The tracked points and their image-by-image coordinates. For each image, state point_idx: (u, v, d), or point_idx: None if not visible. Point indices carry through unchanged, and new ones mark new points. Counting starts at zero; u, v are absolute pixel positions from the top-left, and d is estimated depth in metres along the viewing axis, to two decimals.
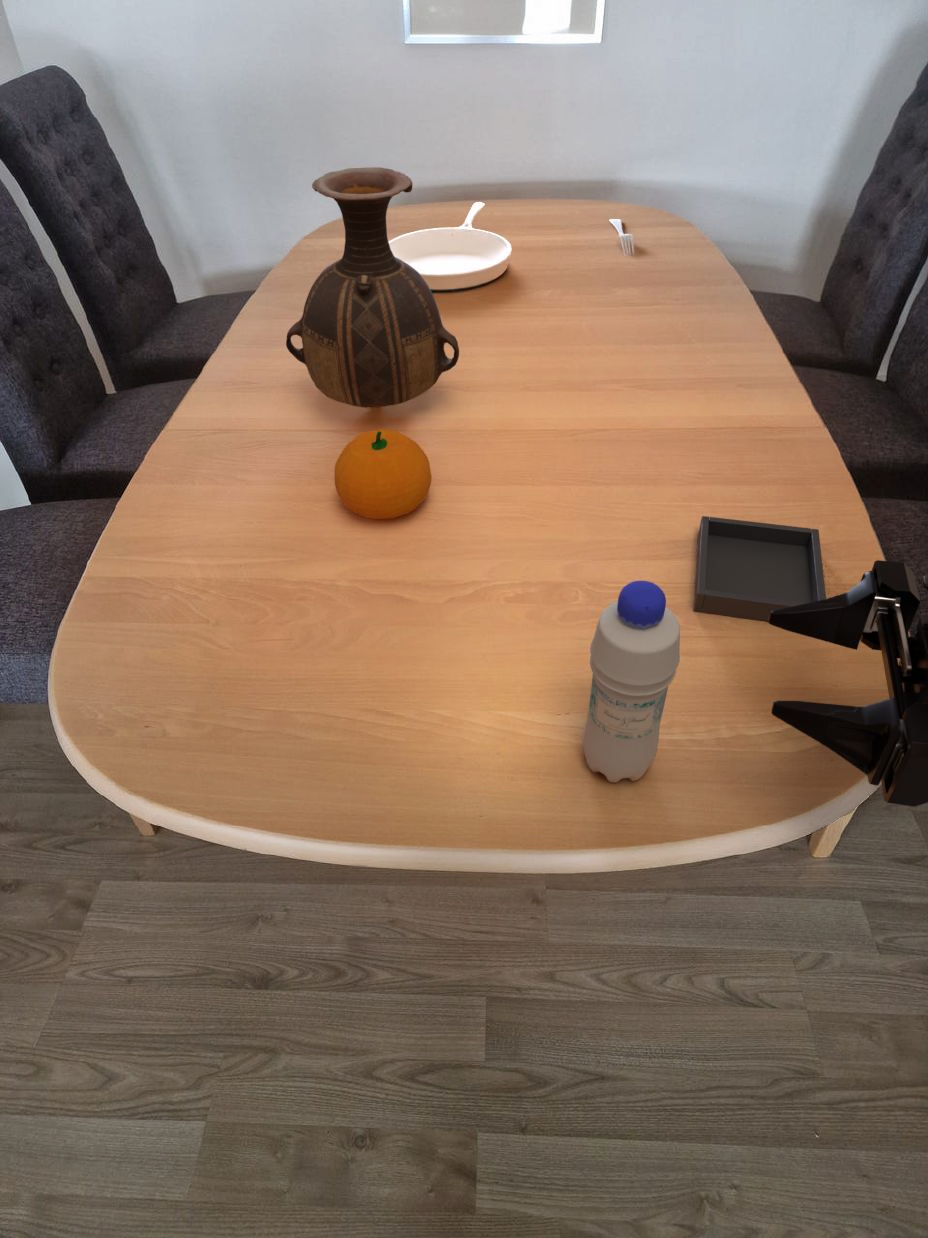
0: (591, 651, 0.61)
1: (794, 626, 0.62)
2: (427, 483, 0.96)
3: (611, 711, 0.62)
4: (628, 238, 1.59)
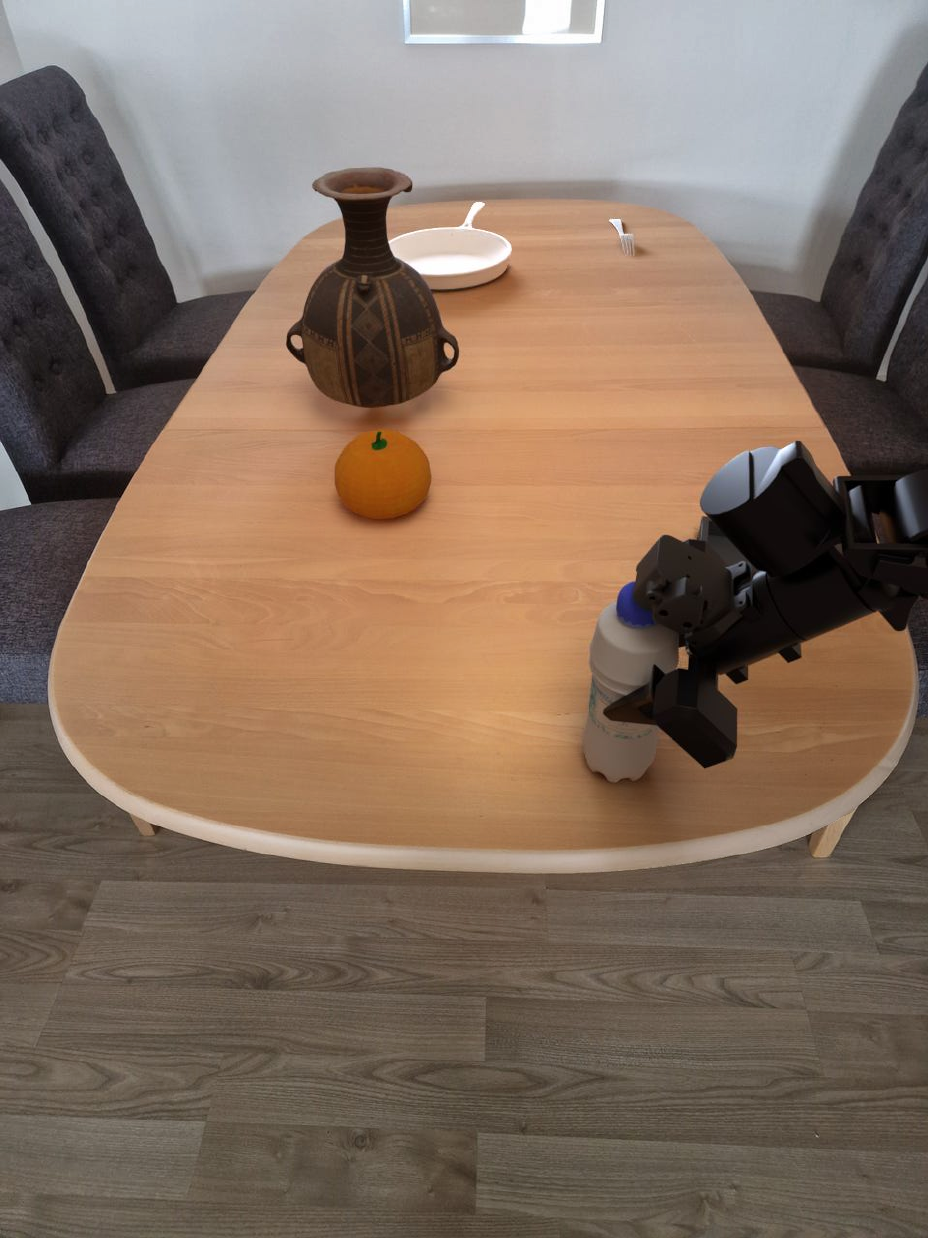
0: (590, 651, 0.61)
1: None
2: (427, 483, 0.96)
3: None
4: (628, 238, 1.59)
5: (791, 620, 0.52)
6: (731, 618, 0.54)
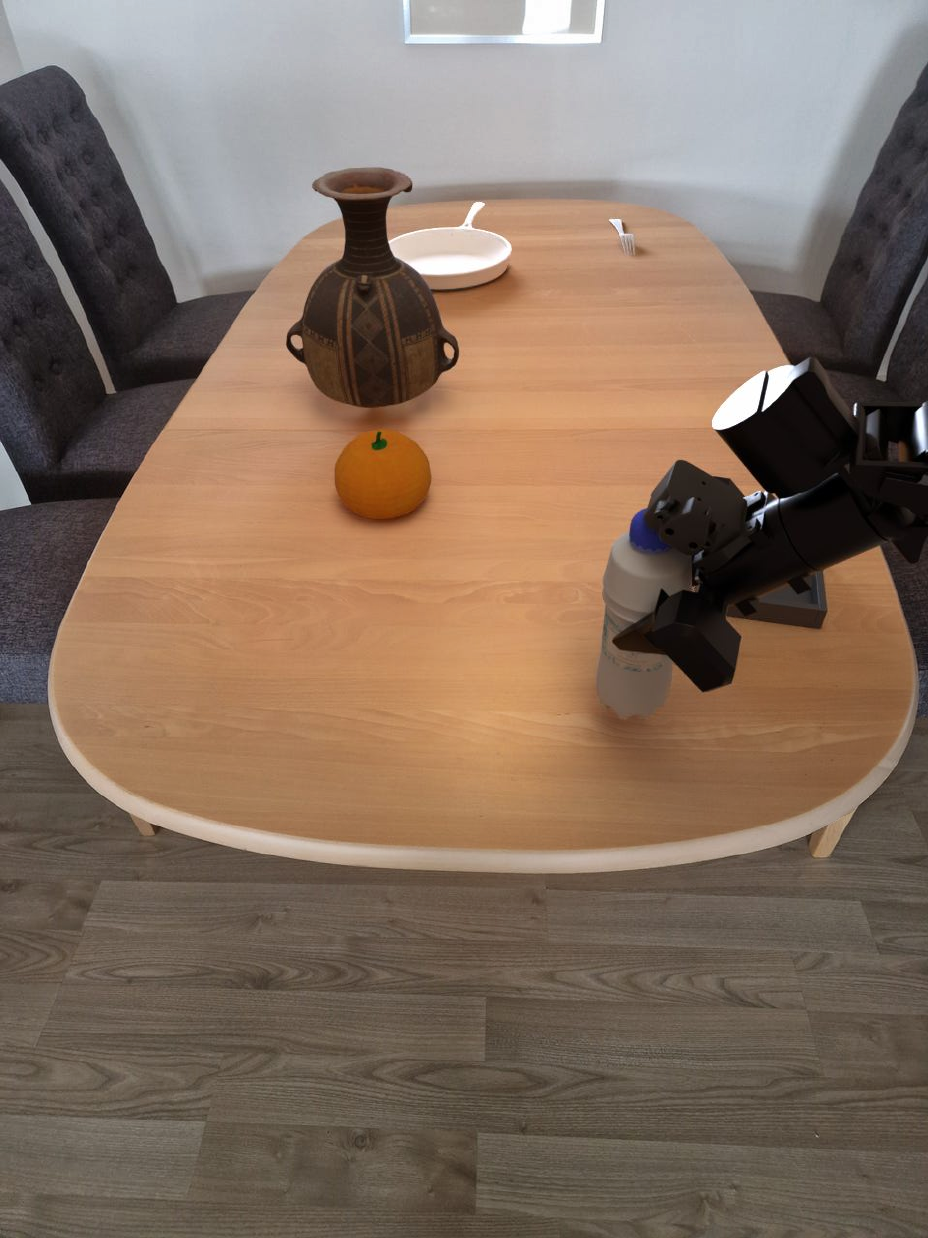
0: (603, 579, 0.62)
1: None
2: (427, 483, 0.96)
3: None
4: (629, 238, 1.59)
5: (799, 546, 0.52)
6: (740, 543, 0.53)
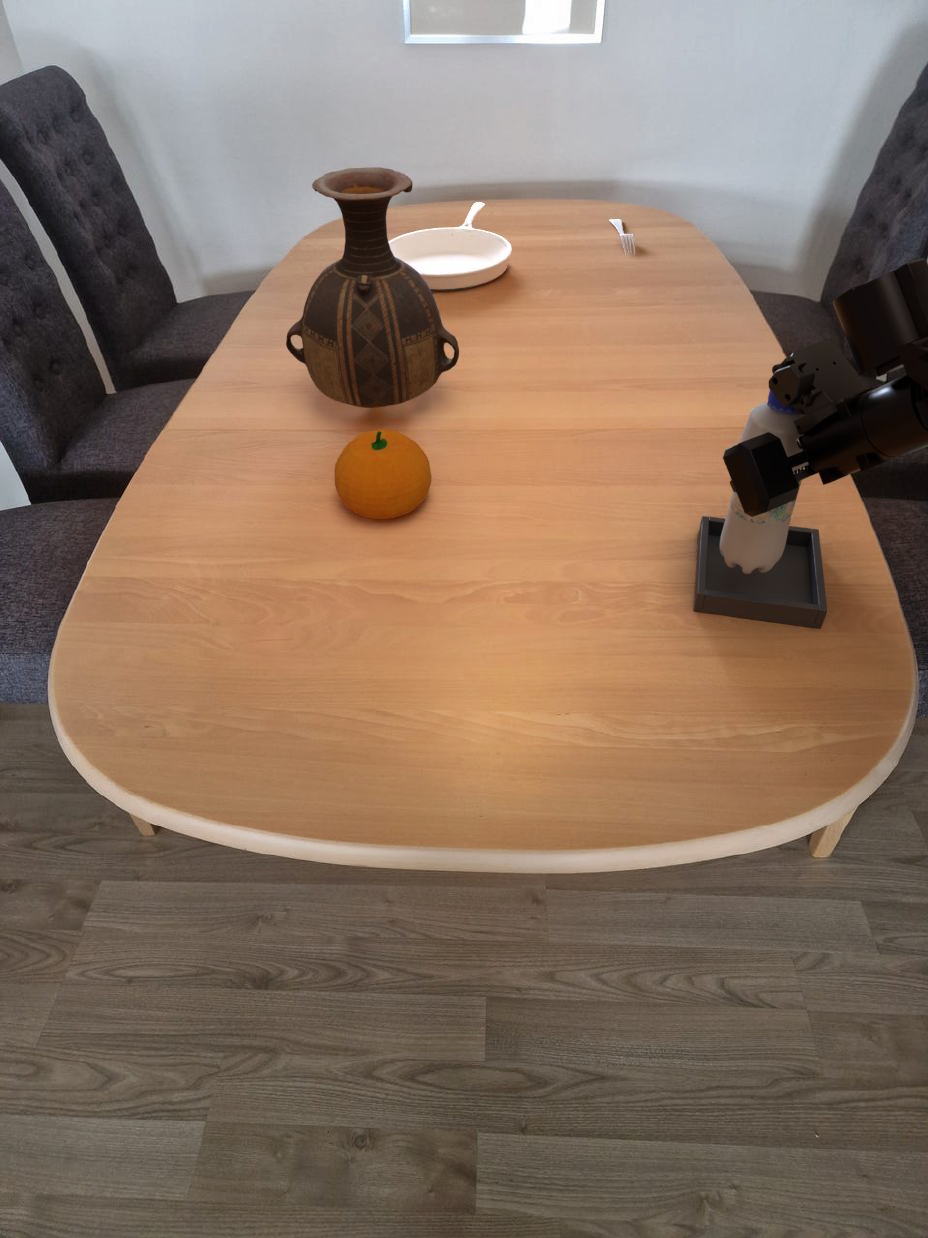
0: None
1: None
2: (427, 483, 0.96)
3: None
4: (629, 238, 1.59)
5: (865, 421, 0.62)
6: (828, 410, 0.65)
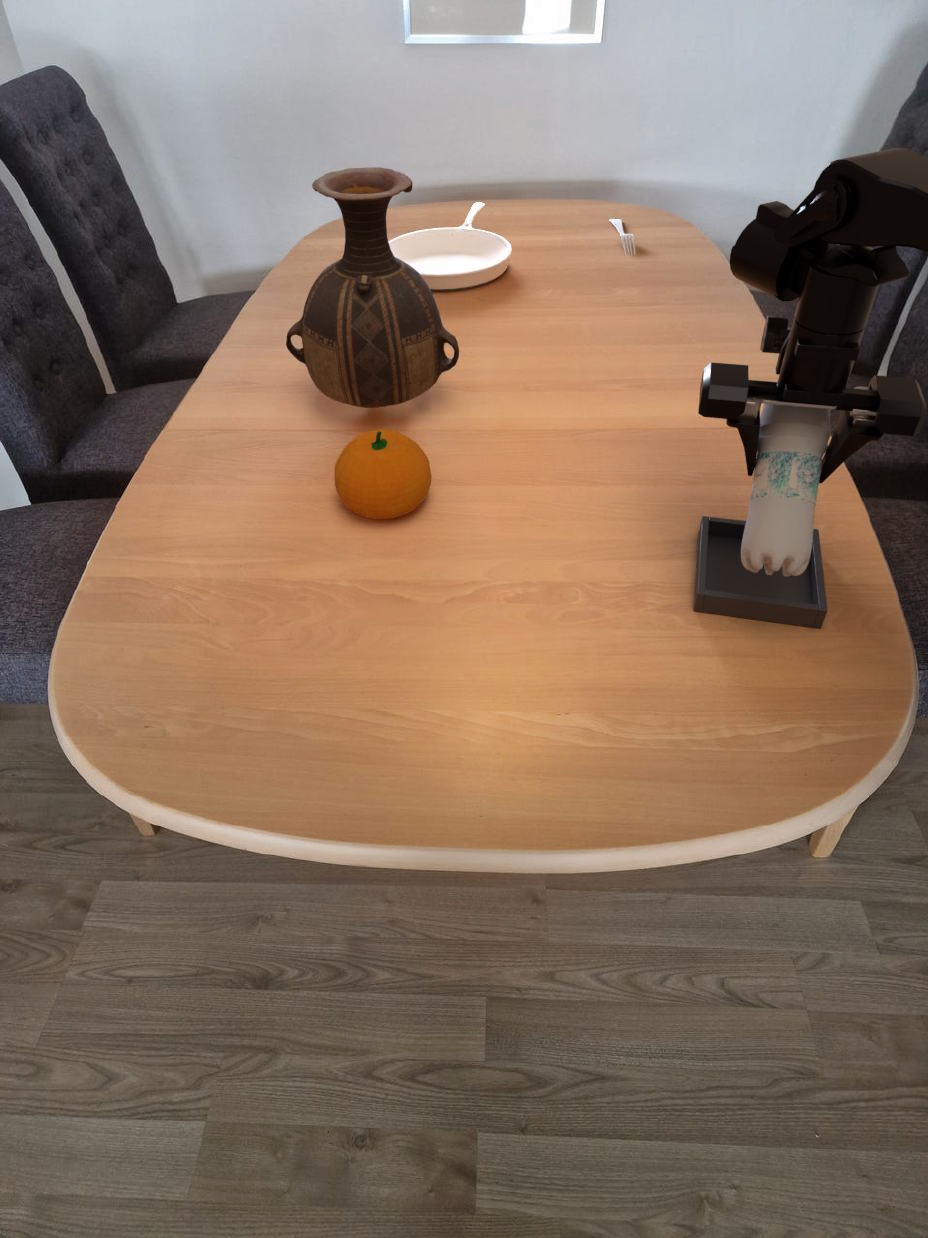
0: None
1: (823, 466, 0.76)
2: (427, 483, 0.96)
3: None
4: (629, 238, 1.59)
5: (799, 319, 0.67)
6: (789, 335, 0.72)
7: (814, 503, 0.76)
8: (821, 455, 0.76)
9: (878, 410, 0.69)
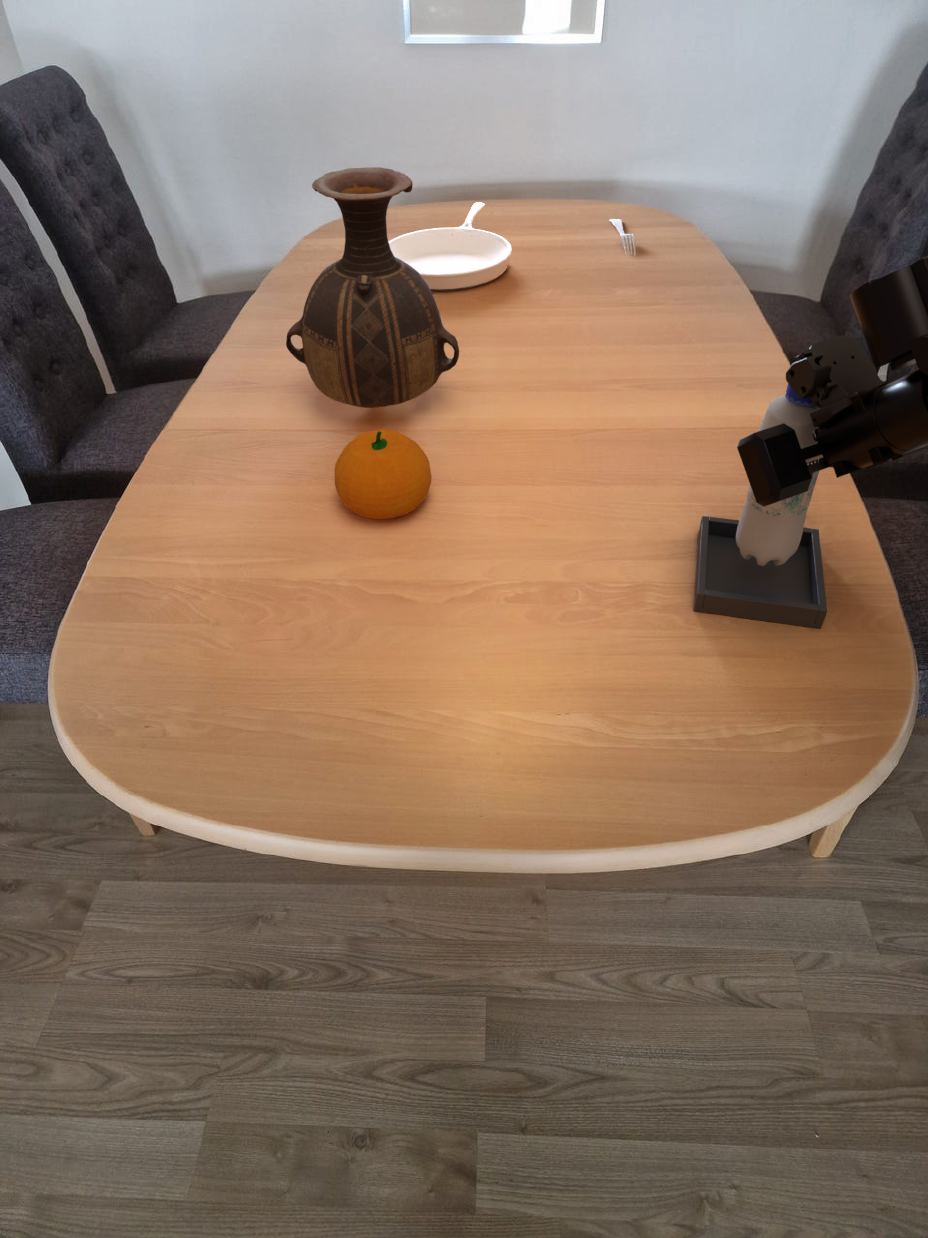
0: None
1: None
2: (427, 483, 0.96)
3: None
4: (629, 238, 1.59)
5: (878, 414, 0.63)
6: (843, 403, 0.66)
7: None
8: None
9: None
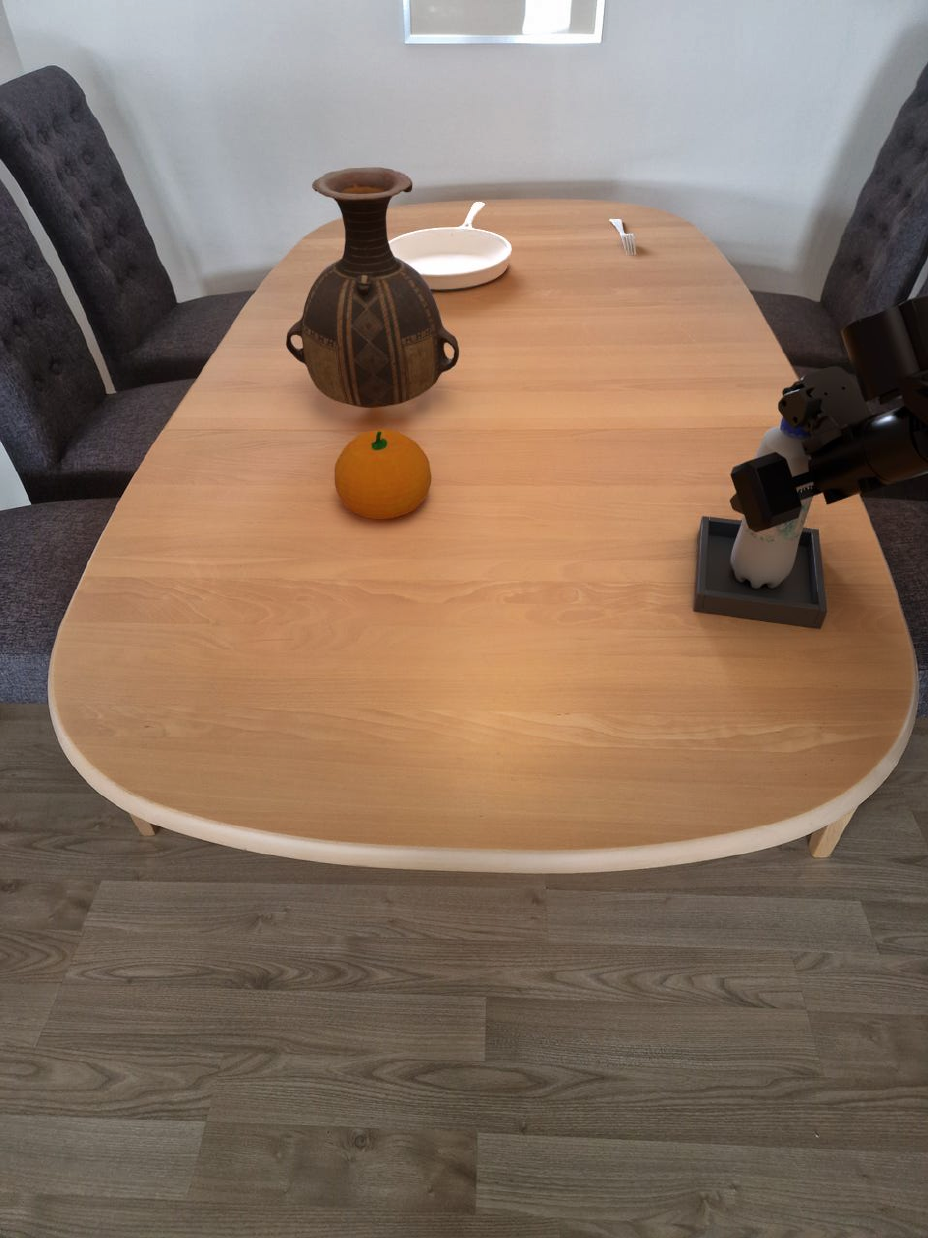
0: None
1: None
2: (427, 483, 0.96)
3: None
4: (630, 238, 1.59)
5: (866, 446, 0.65)
6: (833, 434, 0.68)
7: None
8: None
9: None
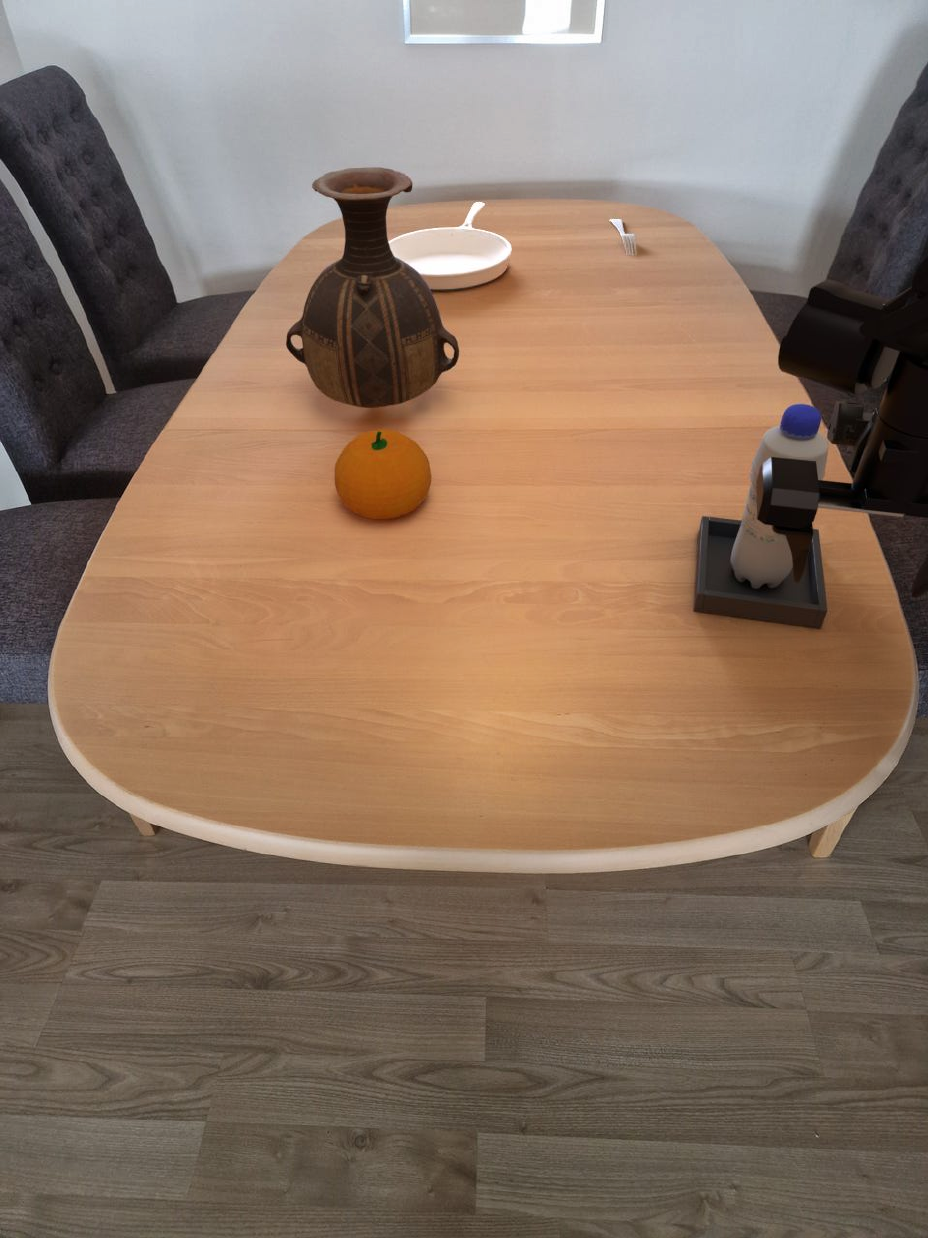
0: None
1: (921, 580, 0.64)
2: (427, 483, 0.96)
3: (749, 504, 0.80)
4: (630, 238, 1.59)
5: (895, 423, 0.55)
6: (867, 428, 0.60)
7: None
8: None
9: None
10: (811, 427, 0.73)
